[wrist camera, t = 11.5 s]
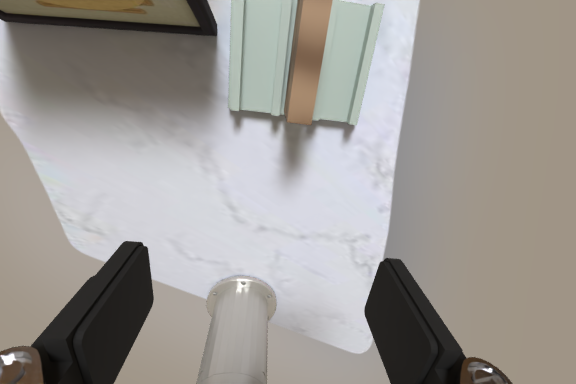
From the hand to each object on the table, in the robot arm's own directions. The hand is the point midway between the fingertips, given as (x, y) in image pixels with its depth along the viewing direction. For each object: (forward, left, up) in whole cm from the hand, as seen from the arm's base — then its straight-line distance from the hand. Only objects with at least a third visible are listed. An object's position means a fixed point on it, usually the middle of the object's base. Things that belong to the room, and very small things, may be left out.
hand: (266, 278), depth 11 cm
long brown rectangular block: (+9, -3, -27) cm, 29 cm away
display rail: (+9, -3, -28) cm, 30 cm away
